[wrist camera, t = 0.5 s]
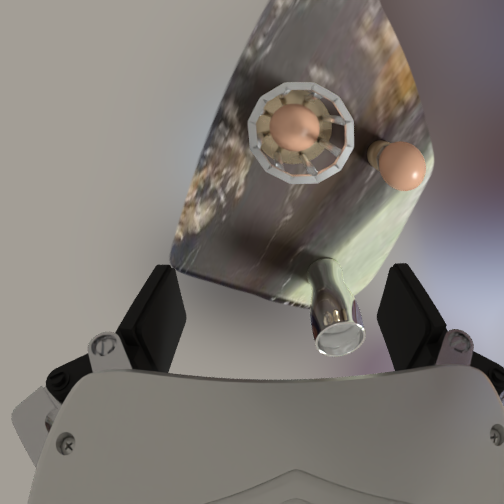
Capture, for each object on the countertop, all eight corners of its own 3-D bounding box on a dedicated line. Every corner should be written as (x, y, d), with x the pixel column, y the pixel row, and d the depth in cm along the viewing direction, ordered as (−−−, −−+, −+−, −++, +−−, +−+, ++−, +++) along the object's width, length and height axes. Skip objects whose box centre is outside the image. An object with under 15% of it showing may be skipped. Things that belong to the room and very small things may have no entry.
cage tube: (274, 76, 30) (275, 58, 19) (343, 112, 31) (377, 115, 20) (240, 142, 35) (224, 157, 24) (308, 175, 36) (324, 206, 25)
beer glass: (318, 248, 42) (335, 313, 29) (352, 265, 43) (378, 330, 30) (296, 280, 45) (302, 349, 32) (329, 295, 46) (344, 362, 33)
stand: (376, 134, 32) (389, 138, 28) (398, 151, 33) (413, 157, 29) (361, 159, 34) (373, 166, 30) (384, 175, 35) (397, 184, 31)
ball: (282, 96, 30) (284, 93, 25) (323, 118, 31) (333, 119, 26) (261, 135, 33) (259, 140, 28) (302, 155, 34) (308, 164, 29)
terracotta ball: (386, 129, 28) (407, 134, 23) (419, 155, 29) (442, 165, 24) (363, 167, 31) (381, 180, 26) (397, 191, 32) (417, 207, 26)
